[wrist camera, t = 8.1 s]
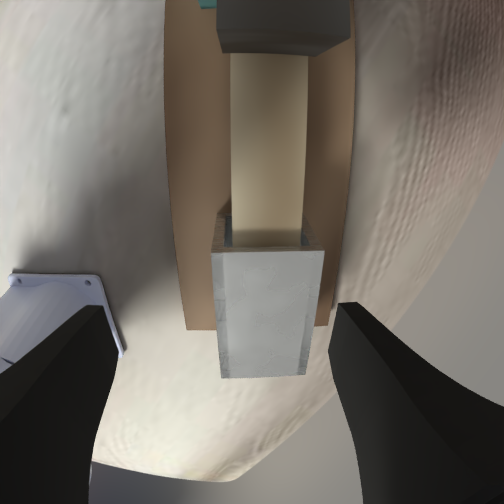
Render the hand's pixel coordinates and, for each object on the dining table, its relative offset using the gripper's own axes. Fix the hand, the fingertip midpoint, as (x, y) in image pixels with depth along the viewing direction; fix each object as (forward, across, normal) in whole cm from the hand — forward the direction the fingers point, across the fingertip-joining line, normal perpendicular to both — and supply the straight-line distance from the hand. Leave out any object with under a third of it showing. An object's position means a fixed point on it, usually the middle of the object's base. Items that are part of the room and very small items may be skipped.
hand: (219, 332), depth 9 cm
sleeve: (+9, -2, +4) cm, 10 cm away
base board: (+10, -2, -3) cm, 11 cm away
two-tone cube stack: (+8, -2, -7) cm, 11 cm away
